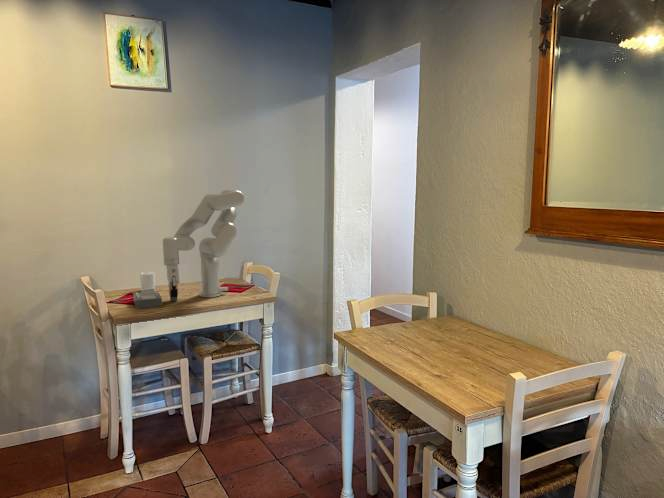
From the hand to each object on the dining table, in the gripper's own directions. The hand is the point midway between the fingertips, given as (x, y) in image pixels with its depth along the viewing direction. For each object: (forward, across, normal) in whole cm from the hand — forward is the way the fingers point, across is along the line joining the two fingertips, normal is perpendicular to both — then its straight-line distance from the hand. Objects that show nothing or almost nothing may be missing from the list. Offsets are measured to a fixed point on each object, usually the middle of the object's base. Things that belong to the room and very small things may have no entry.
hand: (173, 295), depth 249 cm
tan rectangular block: (+2, 0, 0) cm, 2 cm away
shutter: (-2, -6, +13) cm, 14 cm away
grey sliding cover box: (+2, 0, +13) cm, 13 cm away
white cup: (+3, +28, +10) cm, 30 cm away
